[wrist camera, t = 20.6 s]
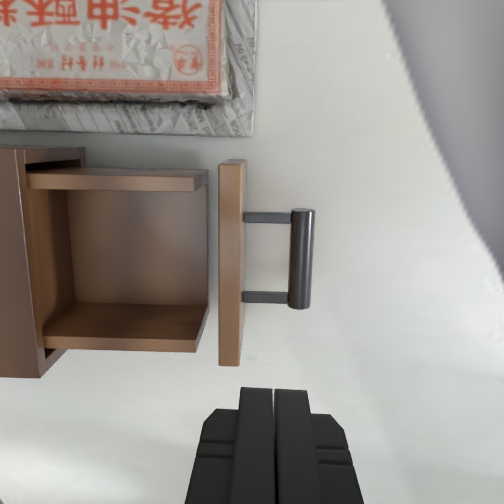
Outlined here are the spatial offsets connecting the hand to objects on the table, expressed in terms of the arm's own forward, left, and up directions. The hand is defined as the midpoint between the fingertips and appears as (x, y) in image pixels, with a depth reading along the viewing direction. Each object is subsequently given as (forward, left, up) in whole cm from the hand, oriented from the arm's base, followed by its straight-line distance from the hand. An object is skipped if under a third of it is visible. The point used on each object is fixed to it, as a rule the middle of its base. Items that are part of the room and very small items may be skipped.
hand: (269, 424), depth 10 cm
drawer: (+1, -6, -21) cm, 21 cm away
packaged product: (-12, -10, -22) cm, 27 cm away
